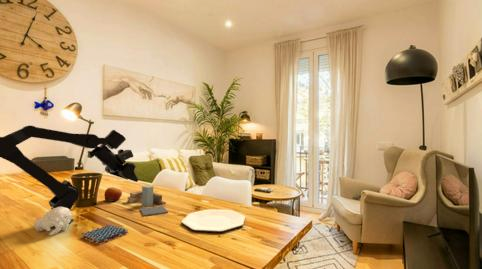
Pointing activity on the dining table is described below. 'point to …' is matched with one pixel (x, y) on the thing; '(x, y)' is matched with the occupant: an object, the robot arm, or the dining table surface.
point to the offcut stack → (135, 197)
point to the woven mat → (104, 234)
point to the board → (147, 196)
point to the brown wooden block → (158, 199)
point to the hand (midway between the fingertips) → (132, 179)
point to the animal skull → (54, 220)
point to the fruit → (112, 194)
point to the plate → (213, 220)
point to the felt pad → (153, 211)
